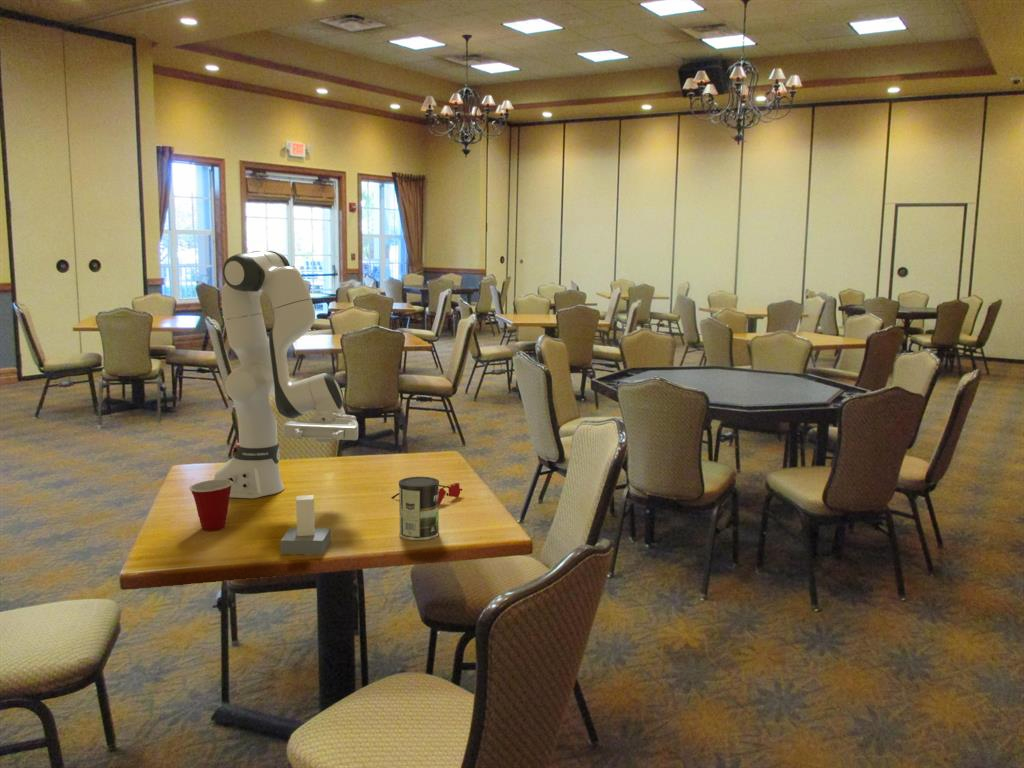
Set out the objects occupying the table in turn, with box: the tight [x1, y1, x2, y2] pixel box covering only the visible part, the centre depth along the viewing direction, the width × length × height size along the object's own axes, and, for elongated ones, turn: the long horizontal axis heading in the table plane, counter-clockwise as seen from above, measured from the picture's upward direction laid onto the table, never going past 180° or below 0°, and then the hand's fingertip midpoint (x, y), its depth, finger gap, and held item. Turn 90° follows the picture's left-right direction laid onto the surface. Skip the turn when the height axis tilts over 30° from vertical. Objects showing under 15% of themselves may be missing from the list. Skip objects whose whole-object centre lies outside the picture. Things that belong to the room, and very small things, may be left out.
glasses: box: [390, 482, 463, 505], centre depth 256 cm, size 14×16×5 cm
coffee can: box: [398, 476, 440, 541], centre depth 222 cm, size 10×10×14 cm
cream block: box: [295, 494, 316, 536], centre depth 210 cm, size 4×4×9 cm
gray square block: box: [280, 526, 332, 556], centre depth 211 cm, size 10×10×4 cm
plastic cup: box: [188, 479, 233, 532], centre depth 224 cm, size 11×11×12 cm
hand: (316, 436), depth 228 cm, fingers open, 8 cm apart
